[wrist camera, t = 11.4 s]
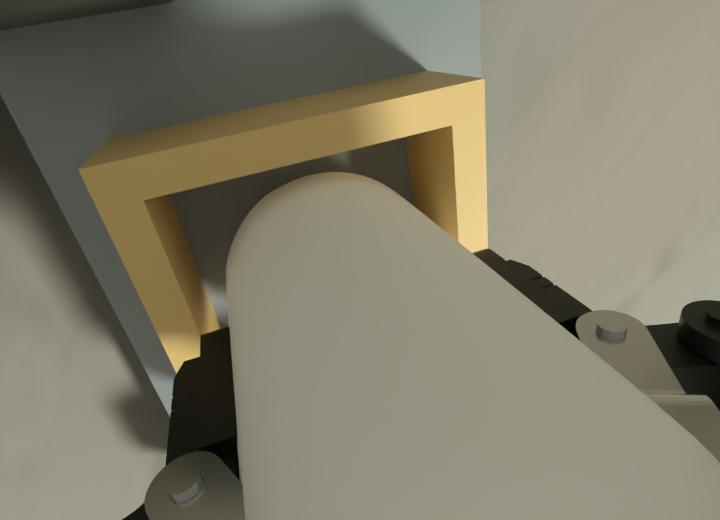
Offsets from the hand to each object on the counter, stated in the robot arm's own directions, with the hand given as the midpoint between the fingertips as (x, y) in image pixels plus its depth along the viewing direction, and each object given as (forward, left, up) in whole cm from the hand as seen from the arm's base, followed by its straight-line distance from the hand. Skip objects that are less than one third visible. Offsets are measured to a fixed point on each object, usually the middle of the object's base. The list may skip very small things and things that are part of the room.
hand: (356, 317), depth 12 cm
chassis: (0, 0, -7) cm, 7 cm away
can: (0, 0, -3) cm, 3 cm away
